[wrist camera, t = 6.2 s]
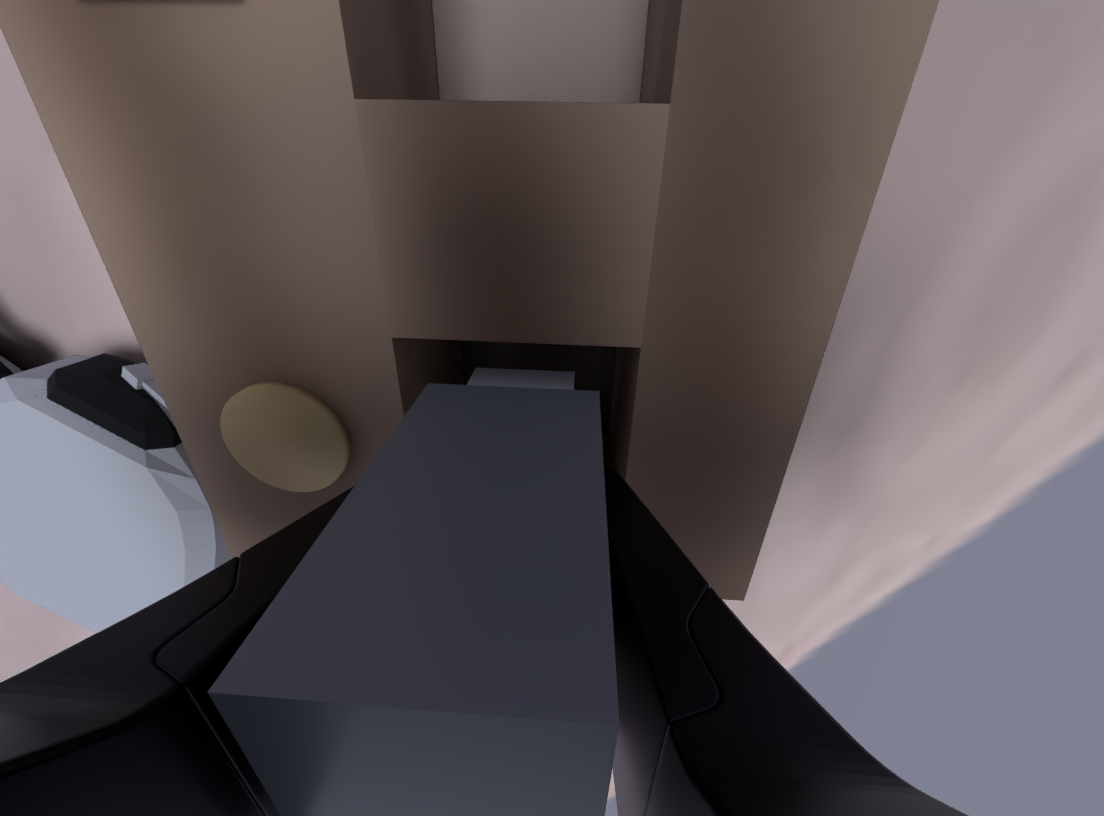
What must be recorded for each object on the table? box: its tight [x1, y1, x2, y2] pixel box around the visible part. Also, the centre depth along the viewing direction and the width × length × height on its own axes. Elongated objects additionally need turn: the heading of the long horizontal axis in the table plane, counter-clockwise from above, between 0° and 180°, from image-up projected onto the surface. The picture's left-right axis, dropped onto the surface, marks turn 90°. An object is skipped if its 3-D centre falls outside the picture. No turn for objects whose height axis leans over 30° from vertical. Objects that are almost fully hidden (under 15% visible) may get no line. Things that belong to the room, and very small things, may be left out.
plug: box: [208, 368, 619, 816], centre depth 8 cm, size 3×3×8 cm
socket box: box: [0, 0, 939, 601], centre depth 10 cm, size 14×18×5 cm
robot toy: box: [0, 354, 233, 633], centre depth 15 cm, size 12×4×15 cm
